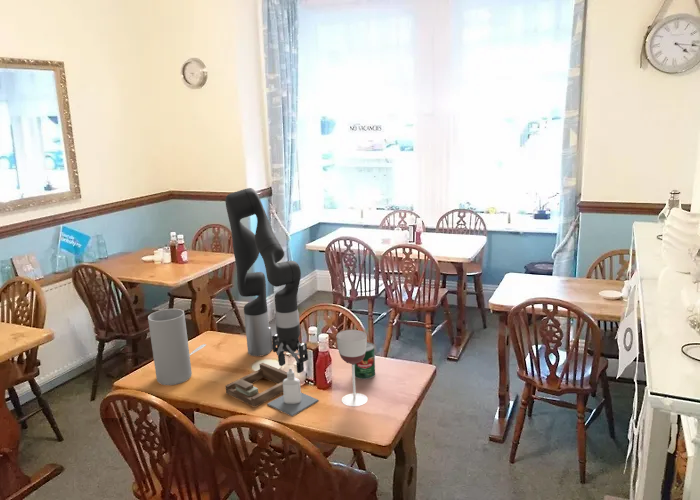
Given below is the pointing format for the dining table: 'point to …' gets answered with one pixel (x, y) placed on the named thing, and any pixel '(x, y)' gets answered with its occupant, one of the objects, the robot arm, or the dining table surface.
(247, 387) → the offcut stack
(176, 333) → the cylinder vase
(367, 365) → the canned tomato
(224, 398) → the dining table surface
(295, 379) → the eye dropper bottle
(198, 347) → the butter knife
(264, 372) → the frame
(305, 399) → the grey rubber mat
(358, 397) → the wineglass
